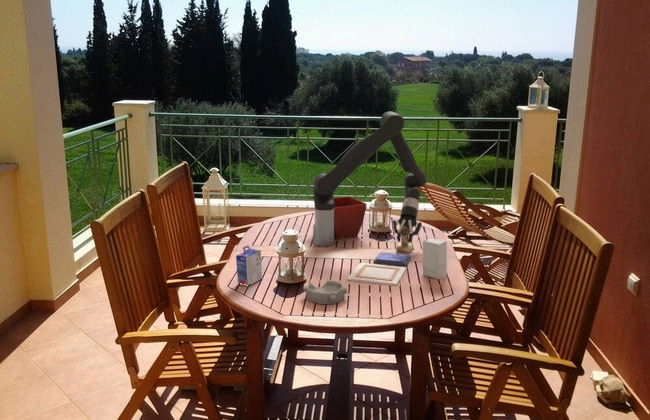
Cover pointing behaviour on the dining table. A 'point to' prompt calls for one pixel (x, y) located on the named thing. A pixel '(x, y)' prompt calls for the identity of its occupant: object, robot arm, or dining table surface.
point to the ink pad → (392, 259)
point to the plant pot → (348, 217)
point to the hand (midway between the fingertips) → (404, 241)
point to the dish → (326, 292)
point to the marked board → (377, 274)
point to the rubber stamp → (404, 241)
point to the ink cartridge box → (249, 266)
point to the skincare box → (435, 258)
